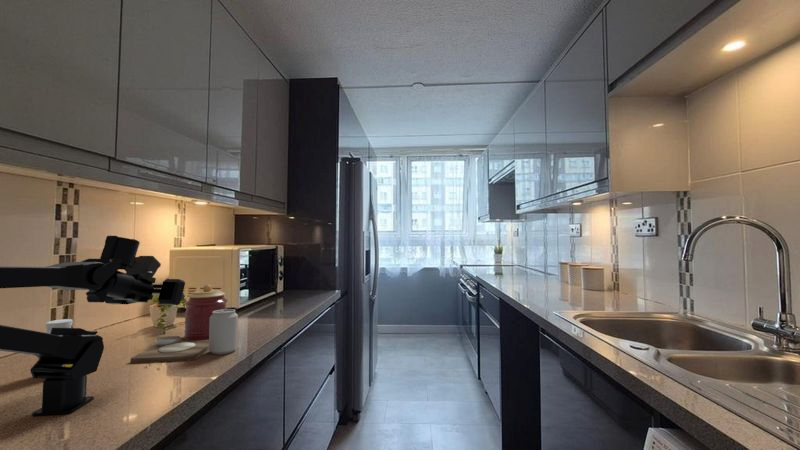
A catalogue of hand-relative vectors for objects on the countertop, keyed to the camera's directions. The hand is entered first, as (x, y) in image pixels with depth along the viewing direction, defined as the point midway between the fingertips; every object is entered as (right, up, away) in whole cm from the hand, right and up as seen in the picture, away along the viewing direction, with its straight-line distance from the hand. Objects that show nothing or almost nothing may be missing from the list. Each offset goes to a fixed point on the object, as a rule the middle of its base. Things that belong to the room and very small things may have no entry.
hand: (168, 297), depth 96 cm
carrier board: (-2, -17, +7) cm, 19 cm away
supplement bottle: (-21, -17, -10) cm, 29 cm away
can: (+11, -18, +8) cm, 22 cm away
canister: (-3, -19, +25) cm, 31 cm away
